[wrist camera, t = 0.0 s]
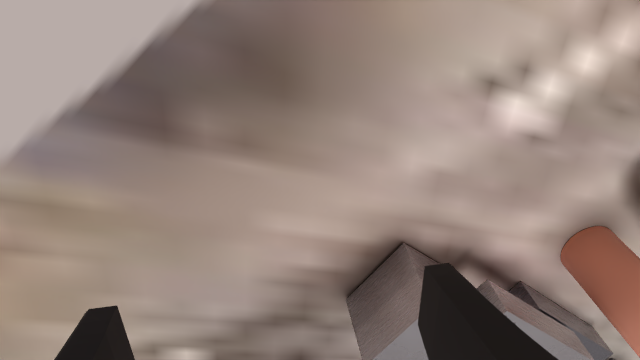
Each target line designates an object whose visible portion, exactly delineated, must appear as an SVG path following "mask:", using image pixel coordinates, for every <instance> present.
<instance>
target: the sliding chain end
mask: <svg viewBox="0 0 640 360" xmlns="http://www.w3.org/2000/svg"><path fill="white" fill-rule="evenodd" d="M437 264H439V263H437V262H435V261H434V260H432V259H430V258H429V257H427V256H425V255H423V254H422V253H420V252H418V251H417V250H415V249H413V248H412V247H410V246H408V245H406V244H405V243H403V244H402V245H401V246H400V247H399V248H398V249H397V250H396V251H395V252H394V253H393V254H392V255H391V256H390V257H389V258H388V259H387V260H386V261H385V262H384V263H383V264H382V265H381V266H380V267H379V268H378V269H377V270H376V271H375V272H374V273H373V274H372V275H371V276H370V277H369V278H368V279H367V280H365V281H364V282H363V283H362V284H361V285H360V286H359V287H358V288H357V289H356V290H355V291H354V292H353V293H352V294H351V295H350V296H349V297H348V298H347V299H346V302H347V306H348V309H349V313H350V317H351V320H352V324H353V327H354V331H355V335H356V338H357V342H358V345H359V349H360V353H361V356H362V360H428V357H427V353H426V350H425V347H424V344H423V341H422V337H421V334H420V331H419V327H418V318H419V309H420V301H421V292H422V284H423V275H424V267H425V266H429V265H437ZM477 290H478V291H479V292H480V293H481V294H482V295H483V296H484V297H485V298H487V299H488V300H489V301H490V302H491V303H492V304H493V305H494V306H495V307H496V308H497V309H498V310H500V311H501V312H502V313H503V314H504V315H505V316H506V317H508V318H509V319H510V320H511V321H512V322H513V323H514V324H516V325H517V326H518V327H519V328H520V329H521V330H522V331H524V332H525V333H526V334H527V335H528V336H530V337H531V338H532V339H533V340H534V341H536V342H537V343H538V344H539V345H541V346H542V347H543V348H544V349H546V350H547V351H548V352H549V353H551V354H552V355H553V356H554V357H556V358H557V359H558V360H594V359H593V357H592V356H591V355H590V353H589V352H588V351H587V349H586V348H585V347H584V345H583V344H582V342H581V341H580V340H579V338H578V337H577V336H576V334H575V333H574V332H573V331H572V330H570V329H568V328H567V327H565V326H563V325H562V324H560V323H558V322H557V321H555V320H554V319H552V318H550V317H549V316H547V315H545V314H544V313H542V312H540V311H539V310H537V309H535V308H534V307H532V306H531V305H529V304H527V303H526V302H524V301H522V300H521V299H519V298H517V297H516V296H514V295H512V294H511V293H509V292H507V291H506V290H504V289H503V288H501V287H499V286H498V285H496V284H494V283H493V282H491V281H489V280H488V279H487V280H486V281H485V282H484V283H483V284H481V285H480V286H479V287H478V288H477Z"/></svg>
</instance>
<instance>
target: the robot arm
mask: <svg viewBox="0 0 640 360" xmlns="http://www.w3.org/2000/svg"><path fill="white" fill-rule="evenodd" d="M418 327H419V331H420V334H421V337H422V341H423V344H424V347H425V350H426V353H427V357H428V360H558V359H557V358H556V357H554V356H553V355H552V354H551V353H549V352H548V351H547V350H546V349H544V348H543V347H542V346H541V345H539V344H538V343H537V342H536V341H534V340H533V339H532V338H531V337H530V336H528V335H527V334H526V333H525V332H524V331H522V330H521V329H520V328H519V327H518V326H517V325H516V324H514V323H513V322H512V321H511V320H510V319H509V318H508V317H506V316H505V315H504V314H503V313H502V312H501V311H500V310H498V309H497V308H496V307H495V306H494V305H493V304H492V303H491V302H490V301H489V300H488V299H487V298H485V297H484V296H483V295H482V294H481V293H480V292H479V291H478V290H477V289H476V288H475V287H474V286H473V285H472V284H471V283H470V282H469V281H468V280H466V279H465V278H464V277H463V276H462V275H461V274H460V273H459V272H458V271H457V270H456V269H455V268H454V267H453V266H452V265H451V264H449V263H444V264H437V265H429V266H425V267H424V275H423V284H422V292H421V301H420V309H419V318H418ZM54 360H135V359H134V356H133V353H132V350H131V347H130V344H129V341H128V338H127V335H126V331H125V328H124V325H123V322H122V319H121V316H120V313H119V310H118V307H117V306H111V307H103V308H95V309H89V310H88V311H87V312H86V313H85V314H84V316H83V317H82V319H81V320H80V322H79V323H78V325H77V327H76V328H75V330H74V331H73V333H72V334H71V336H70V337H69V339H68V340H67V342H66V343H65V345H64V346H63V348H62V349H61V351H60V352H59V353H58V355H57V356H56V358H55V359H54Z"/></svg>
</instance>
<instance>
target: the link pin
mask: <svg viewBox="0 0 640 360" xmlns="http://www.w3.org/2000/svg"><path fill="white" fill-rule="evenodd" d="M561 262H562V264H563V265H564V266H565V267H566V269H567V270H568V271H569V272H570V273H571V275H572V276H573V277H574V278H575V280H576V281H577V282H578V283H579V284H580V286H581V287H582V288H583V289H584V290H585V292H586V293H587V294H588V295H589V297H590V298H591V299H592V300H593V301H594V303H595V304H596V305H597V306H598V307H599V309H600V310H601V311H602V312H603V314H604V315H605V316H606V317H607V318H608V320H609V321H610V322H611V323H612V324H613V326H614V327H615V328H616V329H617V331H618V332H619V333H620V334H621V335H622V337H623V338H624V339H625V340H626V341H627V343H628V344H629V345H630V346H631V348H632V349H633V350H634V351H635V352H636V354H637V355H638V356H639V357H640V258H639V257H638V256H637V255H636V254H635V253H633V252H632V251H631V250H630V249H629V248H628V247H627V246H626V245H625V244H624V243H623V242H622V241H621V240H620V239H619V238H618V237H617V236H616V235H615V234H614V233H613V232H612V231H611V230H610V229H608V228H606V227H602V226H595V227H590V228H587V229H584V230H582V231H580V232H578V233H577V234H575V235H574V236H573V237H571V238H570V239H569V240H568V242H567V243H566V244H565V246H564V247H563V249H562V252H561Z"/></svg>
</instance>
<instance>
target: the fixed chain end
mask: <svg viewBox="0 0 640 360" xmlns="http://www.w3.org/2000/svg"><path fill="white" fill-rule="evenodd" d="M509 293H511V294H512V295H514V296H516V297H517V298H519V299H521V300H522V301H524V302H526V303H527V304H529V305H531V306H532V307H534V308H535V309H537V310H539V311H540V312H542V313H544V314H545V315H547V316H549V317H550V318H552V319H554V320H555V321H557V322H558V323H560V324H562V325H563V326H565V327H567V328H568V329H570V330H572V331H573V332H574V333H575V334H576V336H577V337H578V338H579V340H580V341H581V342H582V344H583V345H584V347H585V348H586V349H587V351H588V352H589V353H590V355H591V356H592V357H593V359H594V360H606V359H607V358H608V357H610V356H611V355H612V354H613V352H612V351H611V350H610V349H609V347H608V346H607V345H606V343H605V342H604V341H603V340H602V338H601V337H600V336H599V334H598V333H597V332H596V331H595V329H594V328H593V327H592V326H590V325H589V324H587V323H586V322H584V321H582V320H581V319H579V318H578V317H576V316H574V315H573V314H571V313H570V312H568V311H567V310H565V309H563V308H562V307H560V306H559V305H557V304H556V303H554V302H552V301H551V300H549V299H548V298H546V297H545V296H543V295H541V294H540V293H538V292H537V291H535V290H534V289H532V288H530V287H529V286H527V285H526V284H524V283H522V282H521V281H520V282H519V283H518V284H517V285H516V286H515V287H513V288H512V289H511V290H510V291H509ZM610 360H614V359H610Z"/></svg>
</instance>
